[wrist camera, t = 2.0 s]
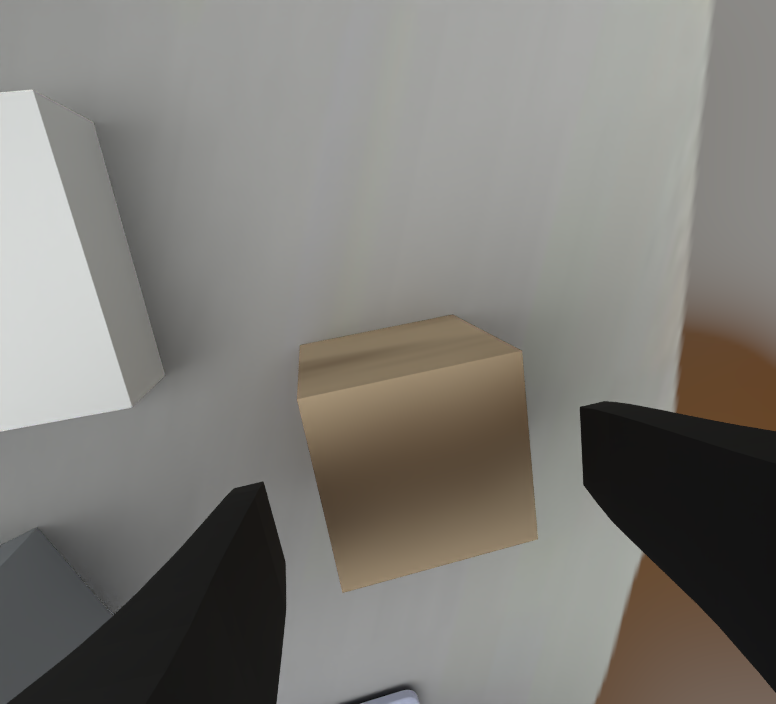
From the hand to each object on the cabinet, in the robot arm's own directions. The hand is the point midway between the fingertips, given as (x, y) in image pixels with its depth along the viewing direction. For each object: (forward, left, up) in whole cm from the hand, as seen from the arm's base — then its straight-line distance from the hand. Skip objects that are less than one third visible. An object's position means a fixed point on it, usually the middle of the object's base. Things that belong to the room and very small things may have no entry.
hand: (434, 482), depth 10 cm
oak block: (0, 0, -6) cm, 6 cm away
